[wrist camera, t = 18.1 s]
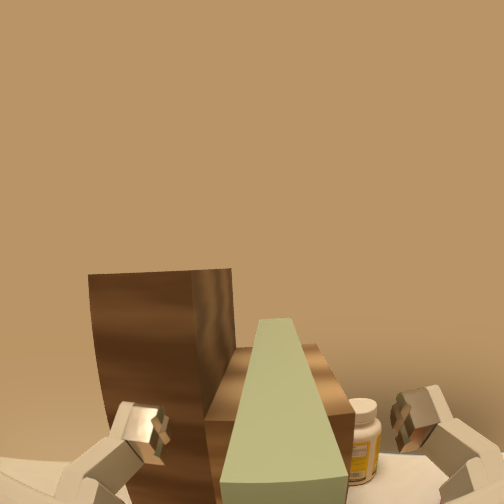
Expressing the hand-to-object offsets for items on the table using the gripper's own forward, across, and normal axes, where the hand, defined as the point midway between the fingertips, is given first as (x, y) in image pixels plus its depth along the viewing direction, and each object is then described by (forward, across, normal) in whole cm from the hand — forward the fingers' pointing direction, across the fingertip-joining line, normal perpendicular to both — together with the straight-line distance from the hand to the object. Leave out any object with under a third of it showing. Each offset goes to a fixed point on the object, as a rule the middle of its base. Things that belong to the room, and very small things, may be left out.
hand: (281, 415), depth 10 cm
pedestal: (+1, +3, +24) cm, 24 cm away
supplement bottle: (+8, -9, +28) cm, 30 cm away
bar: (+6, 0, +7) cm, 9 cm away
